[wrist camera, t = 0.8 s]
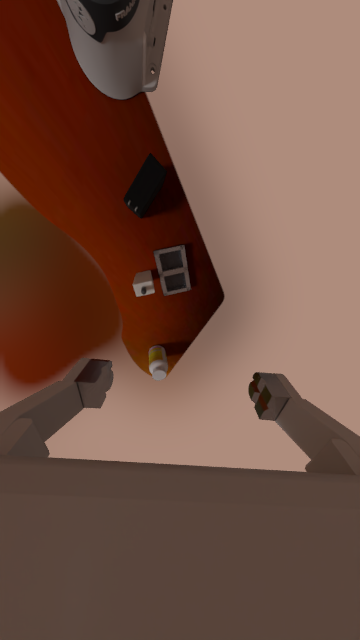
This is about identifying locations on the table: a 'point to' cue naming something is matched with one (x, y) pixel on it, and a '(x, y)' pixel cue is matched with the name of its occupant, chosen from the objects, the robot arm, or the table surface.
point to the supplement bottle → (158, 362)
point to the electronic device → (145, 186)
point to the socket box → (172, 269)
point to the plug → (143, 283)
